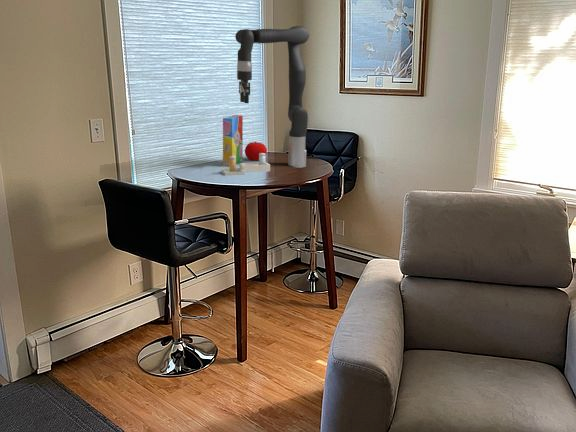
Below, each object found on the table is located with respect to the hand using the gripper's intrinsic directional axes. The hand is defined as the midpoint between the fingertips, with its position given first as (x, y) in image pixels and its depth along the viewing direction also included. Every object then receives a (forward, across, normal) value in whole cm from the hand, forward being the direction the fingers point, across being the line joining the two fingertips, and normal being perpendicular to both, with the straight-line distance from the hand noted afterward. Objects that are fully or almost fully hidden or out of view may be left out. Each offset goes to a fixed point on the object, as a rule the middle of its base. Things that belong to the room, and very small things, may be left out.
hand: (244, 102), depth 281 cm
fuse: (+35, -5, -8) cm, 36 cm away
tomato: (+36, +31, -15) cm, 50 cm away
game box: (+36, +18, +2) cm, 41 cm away
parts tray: (+36, -9, +8) cm, 38 cm away
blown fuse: (+35, -9, +8) cm, 38 cm away
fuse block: (+36, -5, -4) cm, 37 cm away
